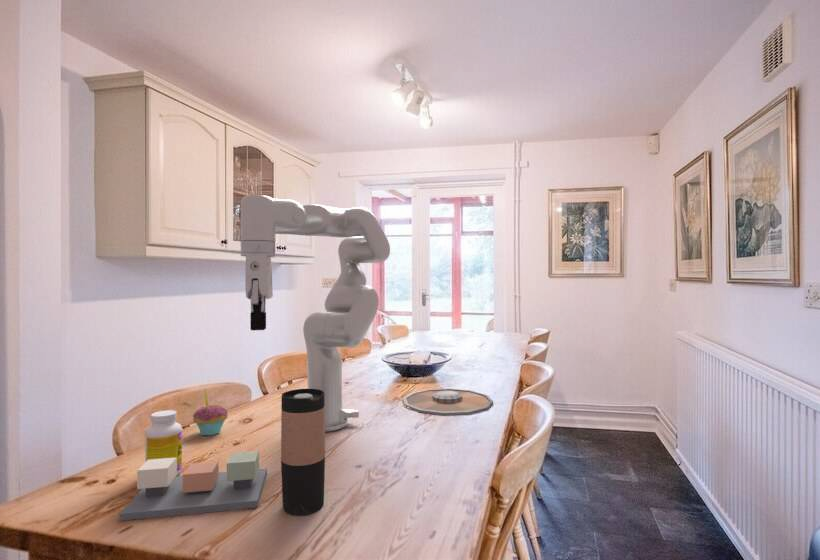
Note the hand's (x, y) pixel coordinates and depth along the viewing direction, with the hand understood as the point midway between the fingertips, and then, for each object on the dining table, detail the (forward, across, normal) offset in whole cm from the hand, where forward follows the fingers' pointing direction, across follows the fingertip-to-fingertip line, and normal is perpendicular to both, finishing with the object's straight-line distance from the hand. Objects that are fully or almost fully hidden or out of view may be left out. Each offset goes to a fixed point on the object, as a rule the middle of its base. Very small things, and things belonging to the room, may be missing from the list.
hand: (258, 329), depth 102 cm
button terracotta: (+27, -17, +8) cm, 33 cm away
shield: (+30, +36, -55) cm, 72 cm away
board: (+29, -17, +8) cm, 35 cm away
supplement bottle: (+29, -6, +18) cm, 35 cm away
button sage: (+26, -17, 0) cm, 31 cm away
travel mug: (+29, -25, -11) cm, 40 cm away
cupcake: (+29, +20, +15) cm, 39 cm away
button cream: (+26, -17, +16) cm, 35 cm away
